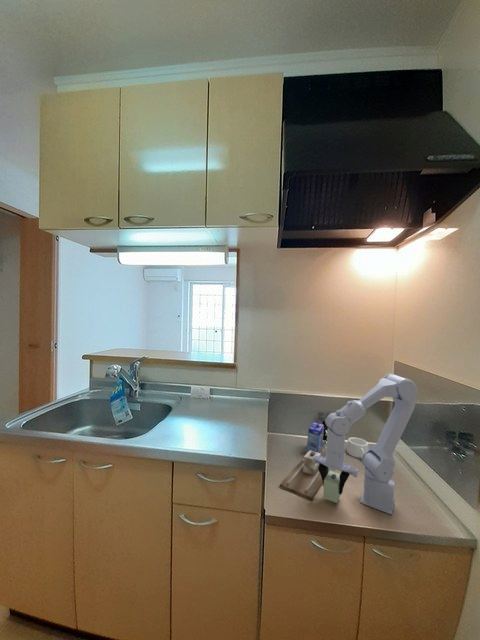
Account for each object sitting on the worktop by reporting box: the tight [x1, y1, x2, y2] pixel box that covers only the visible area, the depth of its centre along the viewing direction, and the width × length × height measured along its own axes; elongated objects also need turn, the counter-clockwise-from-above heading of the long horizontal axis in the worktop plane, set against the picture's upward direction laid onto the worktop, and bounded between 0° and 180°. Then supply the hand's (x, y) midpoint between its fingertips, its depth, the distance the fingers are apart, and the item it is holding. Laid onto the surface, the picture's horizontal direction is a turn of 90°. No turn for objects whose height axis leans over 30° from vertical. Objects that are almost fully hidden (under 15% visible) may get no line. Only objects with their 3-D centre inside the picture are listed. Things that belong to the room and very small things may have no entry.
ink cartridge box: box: [305, 421, 325, 455], centre depth 128 cm, size 10×6×14 cm, turn 152°
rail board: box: [279, 450, 331, 501], centre depth 106 cm, size 12×22×8 cm, turn 147°
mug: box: [346, 436, 369, 459], centre depth 128 cm, size 12×10×6 cm
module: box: [322, 470, 342, 504], centre depth 94 cm, size 4×7×7 cm, turn 147°
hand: (332, 489), depth 94 cm, fingers closed on module, 4 cm apart
